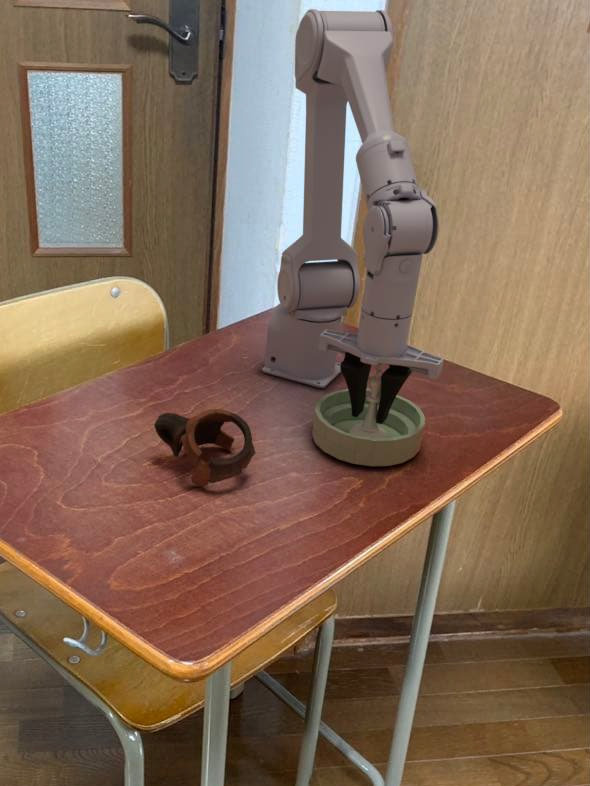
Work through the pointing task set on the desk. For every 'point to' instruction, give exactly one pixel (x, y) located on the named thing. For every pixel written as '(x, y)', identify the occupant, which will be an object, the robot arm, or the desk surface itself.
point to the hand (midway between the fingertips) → (369, 417)
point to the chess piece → (371, 411)
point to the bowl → (339, 443)
